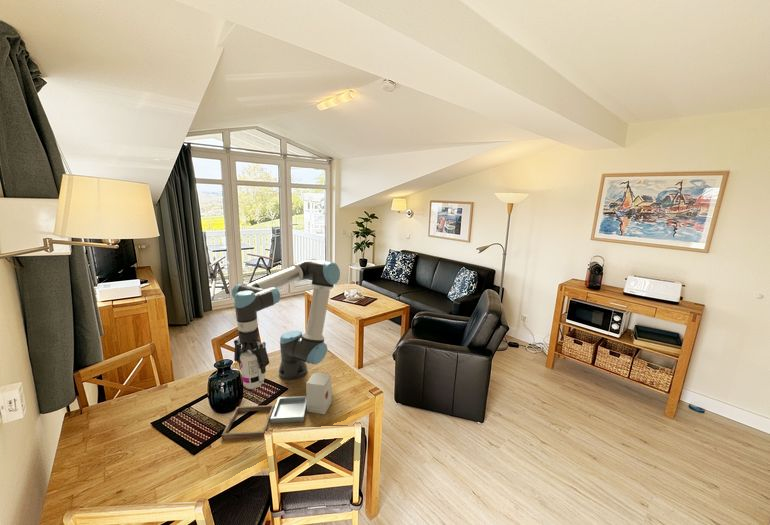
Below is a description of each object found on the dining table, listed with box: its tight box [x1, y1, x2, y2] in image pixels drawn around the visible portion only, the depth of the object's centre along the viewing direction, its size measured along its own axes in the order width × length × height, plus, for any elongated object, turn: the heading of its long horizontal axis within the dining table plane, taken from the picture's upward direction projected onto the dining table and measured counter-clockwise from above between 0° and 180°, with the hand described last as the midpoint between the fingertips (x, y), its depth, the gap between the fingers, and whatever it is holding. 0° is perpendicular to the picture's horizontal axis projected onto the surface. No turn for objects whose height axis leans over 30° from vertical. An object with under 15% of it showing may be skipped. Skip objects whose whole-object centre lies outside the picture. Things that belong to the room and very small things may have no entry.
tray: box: [270, 395, 307, 424], centre depth 139 cm, size 14×14×2 cm
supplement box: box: [305, 372, 333, 415], centre depth 141 cm, size 9×9×15 cm
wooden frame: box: [221, 404, 275, 440], centre depth 132 cm, size 17×17×2 cm
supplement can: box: [240, 349, 265, 390], centre depth 128 cm, size 8×8×15 cm
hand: (253, 377), depth 129 cm, fingers closed on supplement can, 8 cm apart
